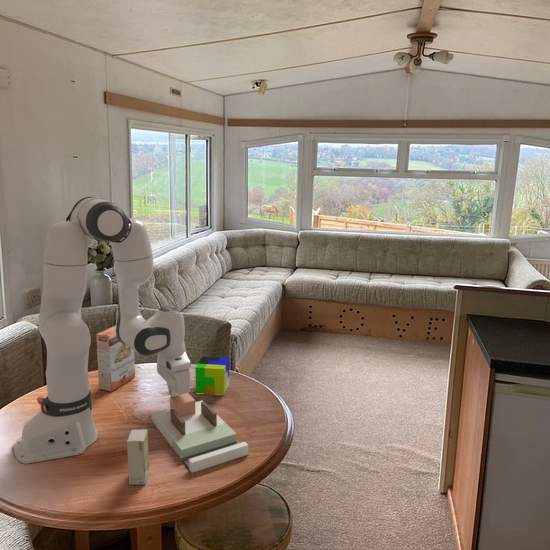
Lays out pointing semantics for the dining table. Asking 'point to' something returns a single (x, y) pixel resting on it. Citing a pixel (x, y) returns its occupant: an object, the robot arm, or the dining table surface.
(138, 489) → the dining table surface
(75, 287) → the robot arm
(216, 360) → the puzzle toy
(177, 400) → the block
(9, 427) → the dining table surface
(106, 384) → the cracker box
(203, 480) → the dining table surface
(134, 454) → the skincare box
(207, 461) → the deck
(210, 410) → the channel walls
